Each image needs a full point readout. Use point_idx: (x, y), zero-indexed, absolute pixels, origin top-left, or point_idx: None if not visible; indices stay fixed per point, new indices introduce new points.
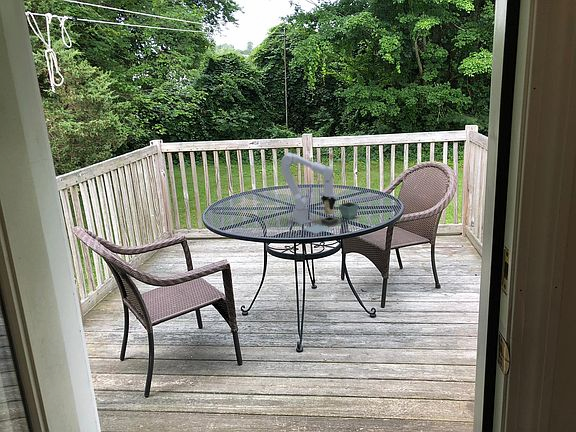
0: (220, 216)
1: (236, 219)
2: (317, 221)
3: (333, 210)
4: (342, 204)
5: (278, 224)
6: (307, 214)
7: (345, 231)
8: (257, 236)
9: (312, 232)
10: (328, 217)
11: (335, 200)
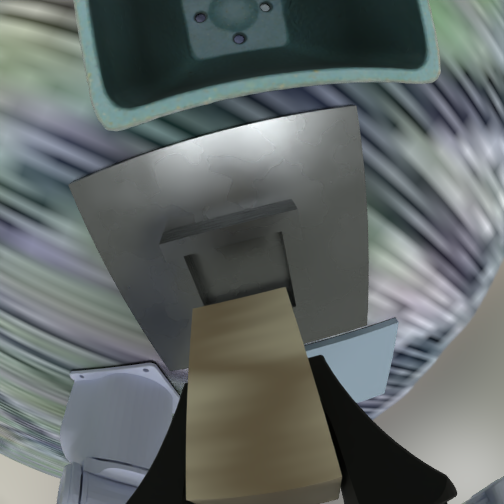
0: (21, 457)
1: (48, 459)
2: (184, 342)
3: (296, 322)
4: (94, 28)
5: None
6: (150, 427)
7: (476, 261)
8: None
9: (359, 401)
10: (180, 267)
11: (422, 467)
